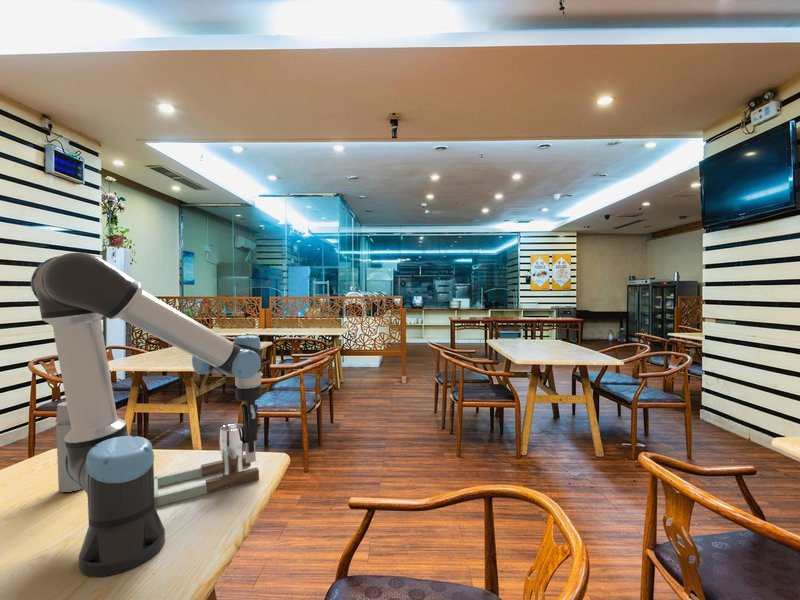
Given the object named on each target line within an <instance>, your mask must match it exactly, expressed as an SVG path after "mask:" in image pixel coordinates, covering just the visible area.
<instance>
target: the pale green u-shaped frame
mask: <svg viewBox="0 0 800 600" xmlns="http://www.w3.org/2000/svg"><path fill="white" fill-rule="evenodd" d="M201 477H202V467H201V466H196V467H194V468H193V467H192V468H188V469H184V470H180V471H176V472H172V473H171V472H170V473H167V474H163V475H157V476H154V501H155V508H157V507H160V506H163V505H168V504H171V503H176V502H178V501H183V500H186V499H191V498H196V497H198V496H202V495H205V494H207V495H208V493H207V484H206V481H205V482H202V483H199V484H194V485H190V486H186V487H181V488H177V489H175V490H173V489H172V490H170V491H165V492H161V493H159V488H160V487H164V486H167V485H172V484H175V483H180V482H185V481H187V480H192V479H197V478H201Z"/></svg>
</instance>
